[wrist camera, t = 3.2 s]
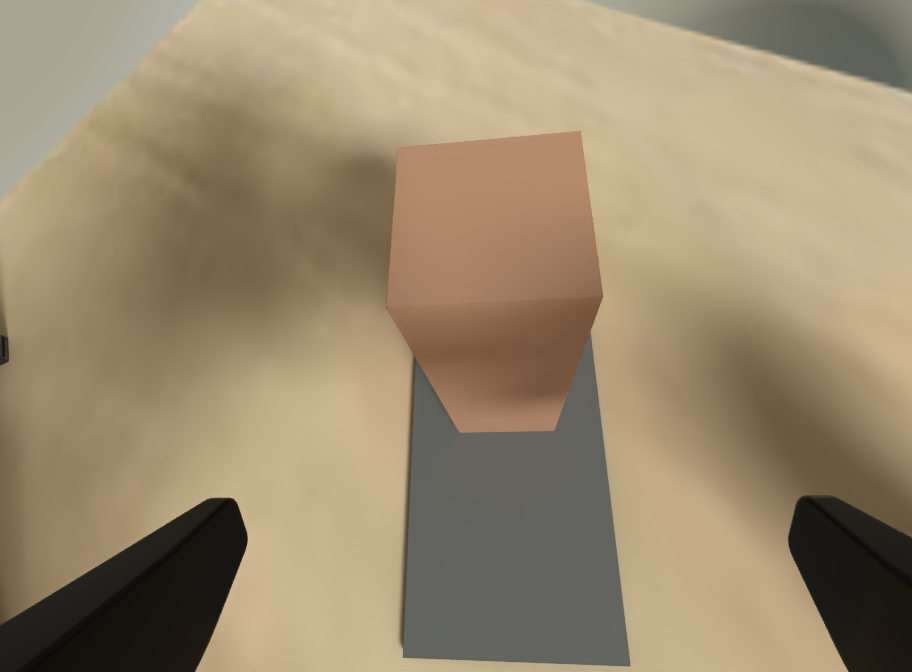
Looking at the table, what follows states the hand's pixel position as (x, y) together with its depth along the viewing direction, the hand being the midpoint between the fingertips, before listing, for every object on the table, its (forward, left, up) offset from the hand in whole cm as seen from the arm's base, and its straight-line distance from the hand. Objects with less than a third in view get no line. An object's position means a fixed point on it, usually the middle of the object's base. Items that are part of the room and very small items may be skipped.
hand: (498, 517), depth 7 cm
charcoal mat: (+5, -2, -12) cm, 13 cm away
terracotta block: (+5, -2, -12) cm, 13 cm away
